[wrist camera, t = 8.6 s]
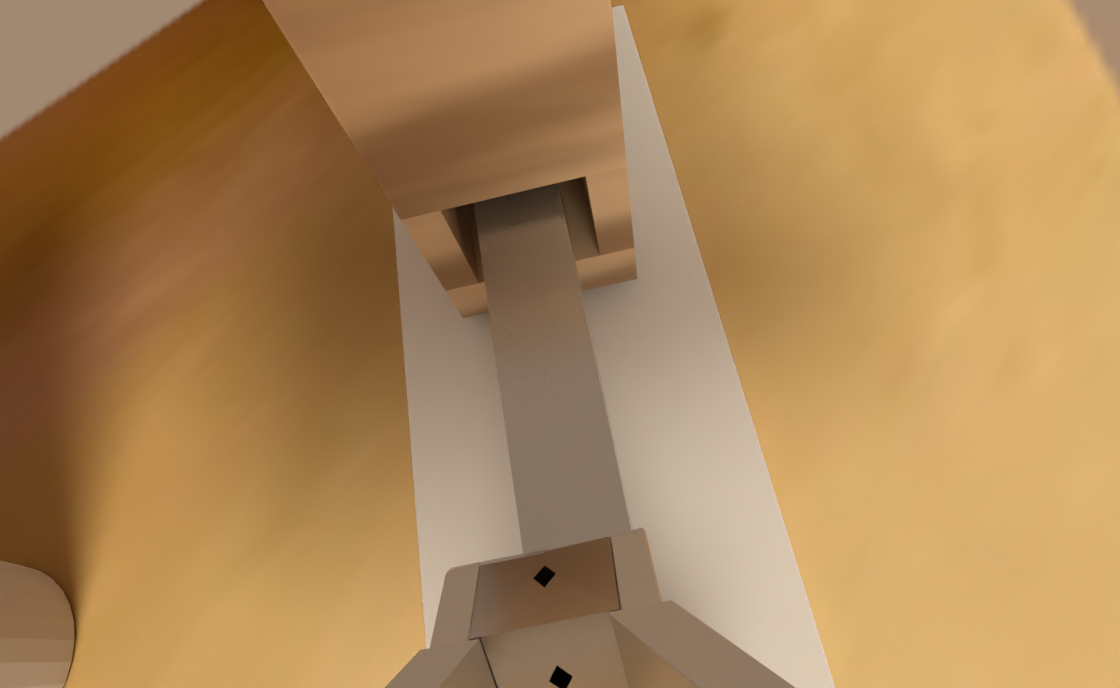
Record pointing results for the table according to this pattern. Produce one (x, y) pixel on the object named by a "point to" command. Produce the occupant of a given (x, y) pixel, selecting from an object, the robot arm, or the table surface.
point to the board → (618, 423)
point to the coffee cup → (33, 629)
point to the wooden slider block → (477, 118)
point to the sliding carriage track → (548, 374)
